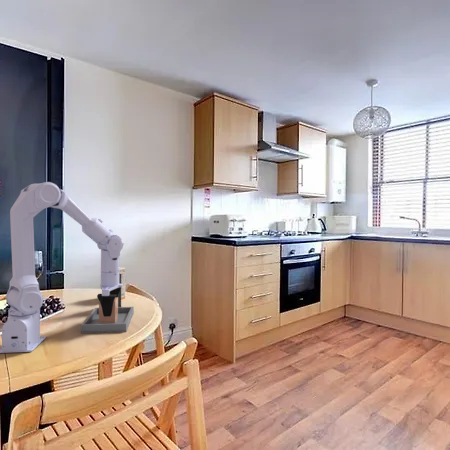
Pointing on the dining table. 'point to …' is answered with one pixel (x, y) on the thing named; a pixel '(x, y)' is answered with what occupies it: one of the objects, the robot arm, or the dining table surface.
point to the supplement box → (123, 281)
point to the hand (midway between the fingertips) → (109, 312)
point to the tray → (119, 326)
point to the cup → (113, 316)
